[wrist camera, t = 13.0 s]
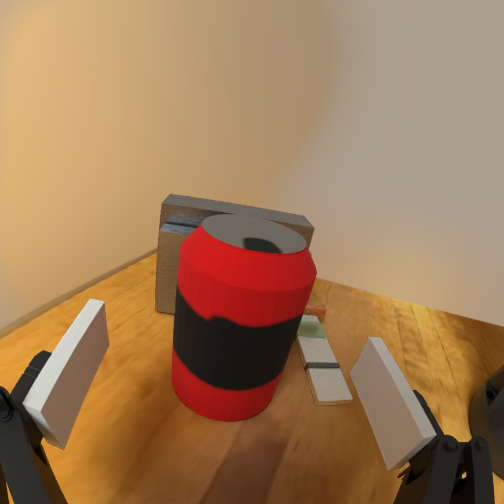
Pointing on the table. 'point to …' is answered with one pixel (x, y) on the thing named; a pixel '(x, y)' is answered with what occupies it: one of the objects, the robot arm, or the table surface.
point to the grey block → (168, 269)
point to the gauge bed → (310, 330)
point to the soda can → (237, 313)
